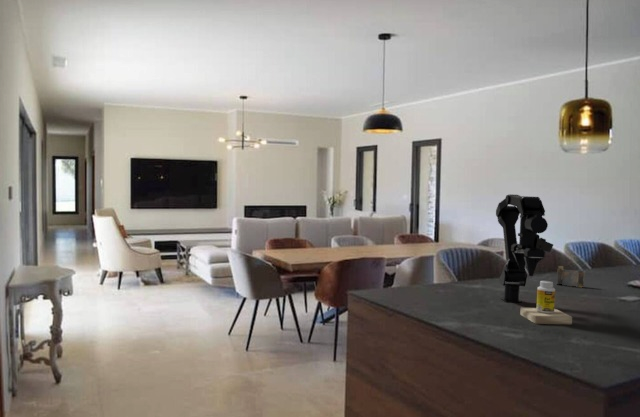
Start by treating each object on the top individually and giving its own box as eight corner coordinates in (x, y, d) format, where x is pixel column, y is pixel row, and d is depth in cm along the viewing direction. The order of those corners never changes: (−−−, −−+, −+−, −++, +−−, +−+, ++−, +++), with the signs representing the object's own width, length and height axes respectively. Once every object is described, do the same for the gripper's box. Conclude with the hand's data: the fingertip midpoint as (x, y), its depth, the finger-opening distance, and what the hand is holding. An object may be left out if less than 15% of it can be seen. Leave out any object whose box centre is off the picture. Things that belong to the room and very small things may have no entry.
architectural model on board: (556, 286, 243) (557, 265, 243) (556, 285, 246) (557, 264, 245) (583, 288, 238) (584, 267, 238) (583, 287, 241) (584, 266, 240)
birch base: (520, 314, 181) (520, 307, 180) (554, 315, 181) (554, 308, 181) (535, 323, 169) (535, 315, 168) (571, 324, 169) (572, 316, 169)
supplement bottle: (543, 314, 171) (544, 283, 171) (532, 310, 177) (534, 280, 176) (557, 313, 173) (559, 283, 172) (547, 309, 178) (548, 280, 178)
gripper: (561, 234, 178) (559, 279, 179) (541, 229, 197) (539, 270, 197) (528, 232, 178) (526, 278, 179) (511, 228, 197) (509, 269, 198)
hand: (526, 274), depth 188 cm, fingers open, 9 cm apart
